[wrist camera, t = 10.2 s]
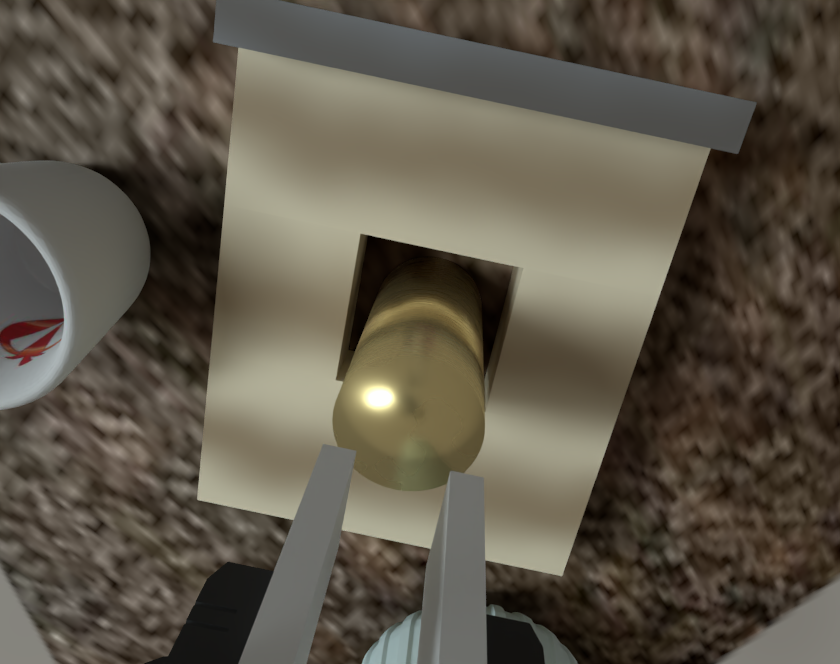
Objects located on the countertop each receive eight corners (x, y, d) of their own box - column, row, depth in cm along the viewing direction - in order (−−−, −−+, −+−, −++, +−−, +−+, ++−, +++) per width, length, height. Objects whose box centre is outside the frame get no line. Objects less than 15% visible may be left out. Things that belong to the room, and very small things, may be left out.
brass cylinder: (386, 246, 29) (344, 341, 20) (492, 269, 29) (501, 374, 20) (368, 344, 30) (322, 474, 21) (468, 365, 30) (466, 504, 21)
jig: (269, -1, 26) (217, -13, 21) (701, 91, 26) (756, 102, 21) (220, 461, 33) (174, 536, 28) (554, 532, 33) (568, 619, 28)
